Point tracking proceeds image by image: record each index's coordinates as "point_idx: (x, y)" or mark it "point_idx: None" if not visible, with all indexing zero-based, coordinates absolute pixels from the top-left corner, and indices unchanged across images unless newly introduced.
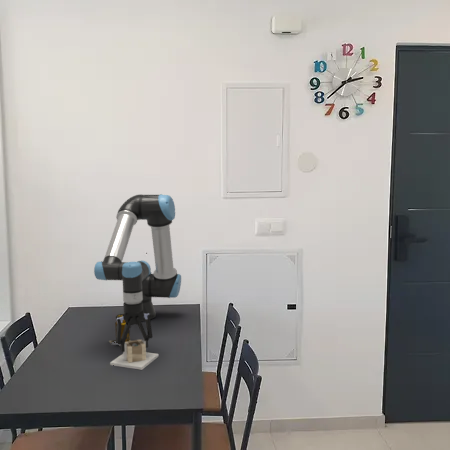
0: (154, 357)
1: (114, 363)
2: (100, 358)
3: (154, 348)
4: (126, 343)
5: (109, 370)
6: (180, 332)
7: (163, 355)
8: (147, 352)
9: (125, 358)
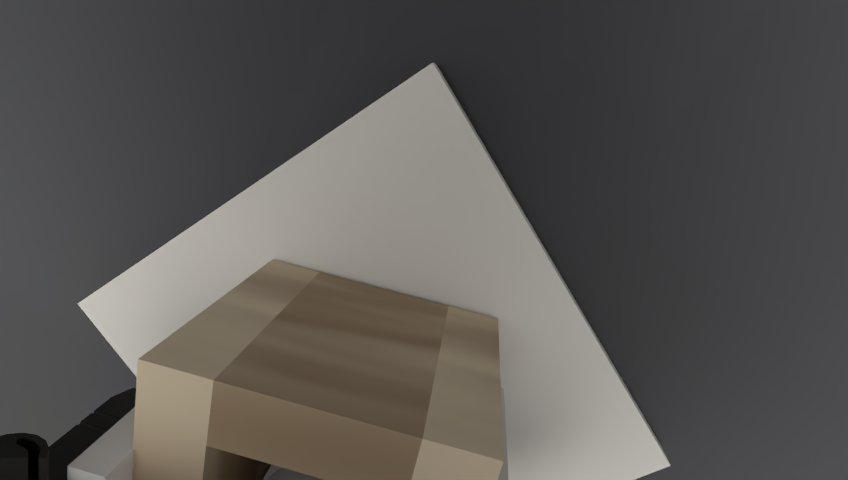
0: None
1: (116, 348)
2: (44, 28)
3: (819, 187)
4: (165, 451)
5: (63, 396)
6: None
7: (723, 458)
8: (591, 337)
9: None
